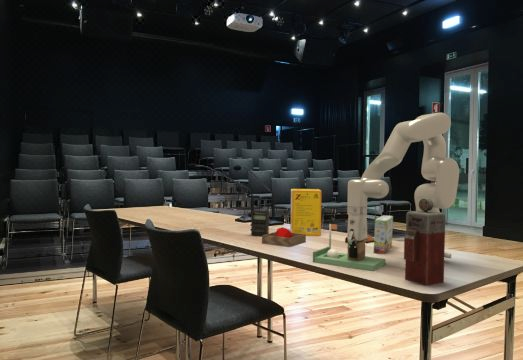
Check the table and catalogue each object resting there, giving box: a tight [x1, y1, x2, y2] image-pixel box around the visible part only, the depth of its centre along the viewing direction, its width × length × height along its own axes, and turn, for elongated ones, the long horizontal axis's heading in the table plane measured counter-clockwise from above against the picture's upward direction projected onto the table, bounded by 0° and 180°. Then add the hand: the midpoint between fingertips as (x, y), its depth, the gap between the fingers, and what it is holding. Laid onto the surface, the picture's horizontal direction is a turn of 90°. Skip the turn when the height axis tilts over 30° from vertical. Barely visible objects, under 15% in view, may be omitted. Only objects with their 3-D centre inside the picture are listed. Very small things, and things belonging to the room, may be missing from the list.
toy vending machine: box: [403, 198, 446, 286], centre depth 143 cm, size 9×11×28 cm
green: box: [312, 223, 386, 272], centre depth 170 cm, size 25×14×14 cm, turn 56°
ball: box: [327, 248, 339, 258], centre depth 173 cm, size 5×5×5 cm
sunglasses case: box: [344, 232, 374, 244], centre depth 217 cm, size 18×7×7 cm
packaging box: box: [289, 188, 322, 237], centre depth 242 cm, size 16×16×25 cm
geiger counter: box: [250, 207, 270, 238], centre depth 232 cm, size 10×4×15 cm, turn 72°
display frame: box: [261, 231, 307, 248], centre depth 213 cm, size 16×16×4 cm
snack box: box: [373, 214, 394, 255], centre depth 198 cm, size 21×6×15 cm, turn 155°
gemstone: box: [275, 227, 292, 238], centre depth 211 cm, size 9×9×10 cm
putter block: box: [346, 239, 366, 261], centre depth 168 cm, size 5×6×7 cm
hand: (356, 255), depth 168 cm, fingers closed on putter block, 6 cm apart
